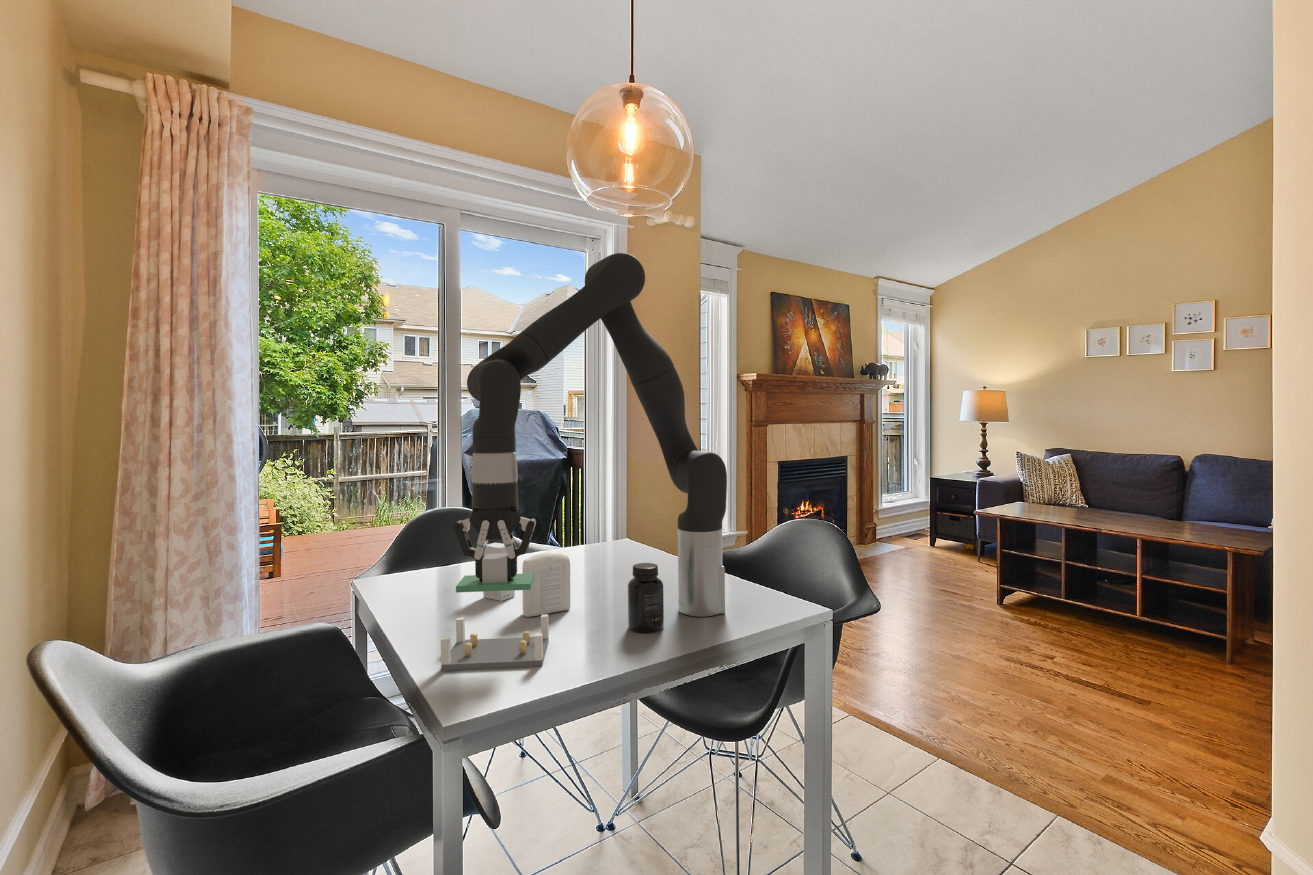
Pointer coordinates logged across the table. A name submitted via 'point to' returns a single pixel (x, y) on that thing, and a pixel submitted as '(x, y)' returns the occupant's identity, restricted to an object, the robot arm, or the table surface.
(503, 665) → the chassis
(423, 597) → the table surface
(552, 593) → the white rounded block
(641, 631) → the supplement bottle
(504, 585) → the module board
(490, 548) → the skincare box
